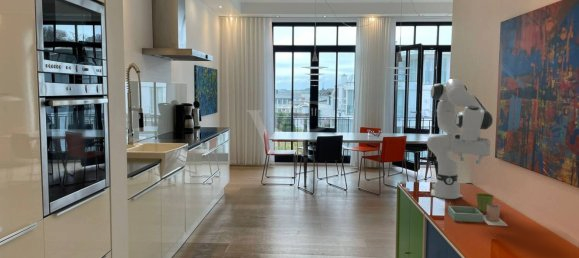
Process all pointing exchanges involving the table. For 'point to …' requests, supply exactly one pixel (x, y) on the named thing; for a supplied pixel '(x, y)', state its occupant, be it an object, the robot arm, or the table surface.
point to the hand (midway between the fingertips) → (469, 162)
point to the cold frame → (465, 214)
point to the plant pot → (484, 201)
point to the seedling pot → (493, 213)
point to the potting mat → (494, 222)
